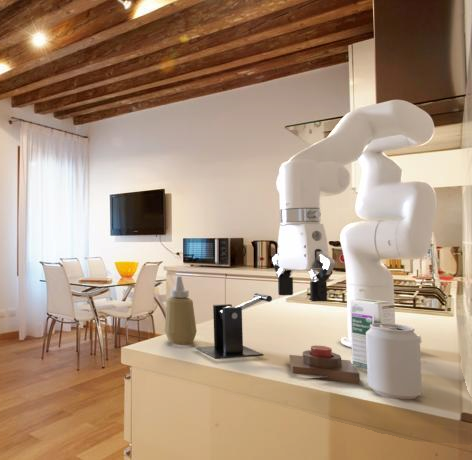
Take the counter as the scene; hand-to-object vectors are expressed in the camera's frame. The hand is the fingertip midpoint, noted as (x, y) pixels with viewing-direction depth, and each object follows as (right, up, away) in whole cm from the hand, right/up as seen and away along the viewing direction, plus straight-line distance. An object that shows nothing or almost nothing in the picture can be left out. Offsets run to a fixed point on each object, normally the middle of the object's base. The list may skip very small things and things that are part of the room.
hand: (301, 298), depth 88 cm
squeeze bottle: (-19, -16, +21) cm, 33 cm away
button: (+2, -11, -4) cm, 12 cm away
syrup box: (+14, -15, -2) cm, 21 cm away
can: (+8, -15, -15) cm, 22 cm away
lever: (-7, -5, +11) cm, 14 cm away
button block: (+2, -15, -4) cm, 15 cm away
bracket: (-11, -16, +10) cm, 22 cm away
